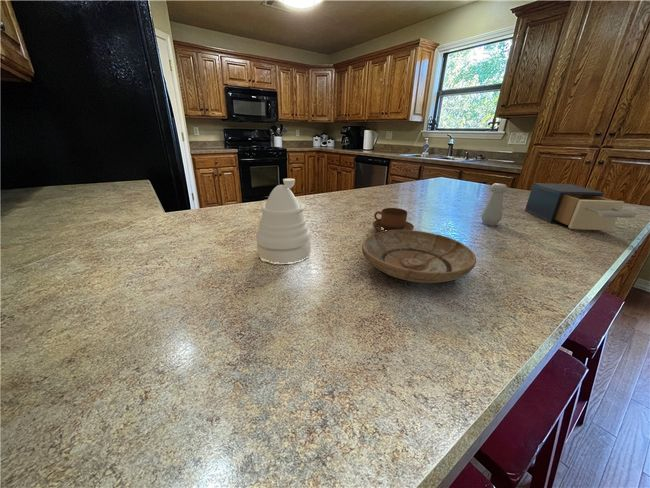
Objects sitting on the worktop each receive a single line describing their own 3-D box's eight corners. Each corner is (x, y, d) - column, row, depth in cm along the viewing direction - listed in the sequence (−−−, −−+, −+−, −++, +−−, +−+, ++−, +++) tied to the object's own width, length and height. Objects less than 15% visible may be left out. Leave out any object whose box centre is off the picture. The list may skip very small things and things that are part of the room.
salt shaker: (503, 226, 85) (515, 186, 80) (485, 226, 85) (496, 185, 80) (493, 221, 91) (503, 182, 86) (476, 220, 91) (485, 182, 86)
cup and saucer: (370, 236, 77) (372, 215, 74) (373, 223, 88) (375, 204, 85) (414, 240, 74) (417, 219, 72) (411, 226, 85) (414, 207, 83)
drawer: (631, 238, 75) (646, 207, 71) (587, 236, 76) (600, 206, 72) (577, 217, 93) (587, 191, 89) (542, 215, 94) (551, 190, 90)
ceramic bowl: (498, 282, 54) (504, 260, 52) (401, 308, 46) (405, 283, 44) (420, 241, 74) (423, 223, 72) (343, 253, 66) (344, 234, 64)
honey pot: (317, 246, 70) (317, 176, 63) (300, 268, 59) (297, 186, 52) (272, 240, 73) (267, 173, 66) (247, 260, 62) (238, 182, 55)
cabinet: (590, 224, 88) (604, 192, 84) (549, 222, 89) (561, 191, 85) (559, 212, 102) (570, 184, 97) (524, 210, 103) (533, 183, 99)
